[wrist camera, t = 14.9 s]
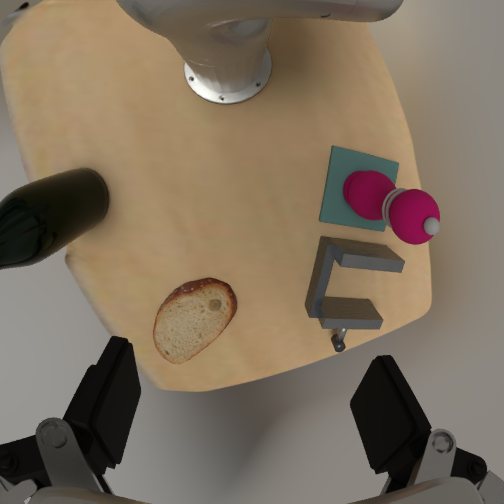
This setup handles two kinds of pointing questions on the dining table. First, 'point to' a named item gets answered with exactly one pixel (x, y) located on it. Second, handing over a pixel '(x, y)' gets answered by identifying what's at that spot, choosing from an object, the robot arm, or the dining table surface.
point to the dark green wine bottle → (49, 215)
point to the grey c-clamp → (346, 309)
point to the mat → (338, 171)
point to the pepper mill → (393, 206)
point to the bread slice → (193, 318)
